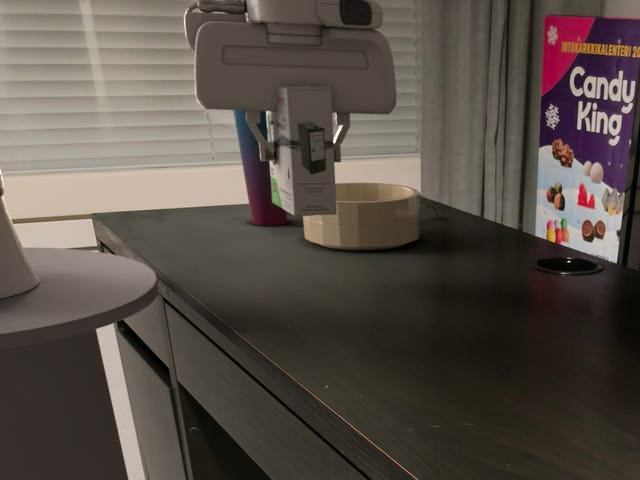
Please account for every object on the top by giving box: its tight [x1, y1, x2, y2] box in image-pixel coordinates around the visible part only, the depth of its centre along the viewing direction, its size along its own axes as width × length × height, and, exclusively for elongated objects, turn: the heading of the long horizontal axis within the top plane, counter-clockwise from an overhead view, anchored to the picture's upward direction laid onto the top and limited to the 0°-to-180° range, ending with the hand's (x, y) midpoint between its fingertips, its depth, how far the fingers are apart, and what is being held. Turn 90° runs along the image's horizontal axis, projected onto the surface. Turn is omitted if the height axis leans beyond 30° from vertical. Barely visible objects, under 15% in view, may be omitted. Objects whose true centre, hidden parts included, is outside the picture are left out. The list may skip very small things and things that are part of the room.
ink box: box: [266, 86, 337, 217], centre depth 97 cm, size 9×5×12 cm, turn 27°
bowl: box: [301, 182, 421, 251], centre depth 124 cm, size 16×16×6 cm
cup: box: [232, 110, 288, 227], centre depth 130 cm, size 7×7×15 cm
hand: (301, 161), depth 97 cm, fingers closed on ink box, 5 cm apart
